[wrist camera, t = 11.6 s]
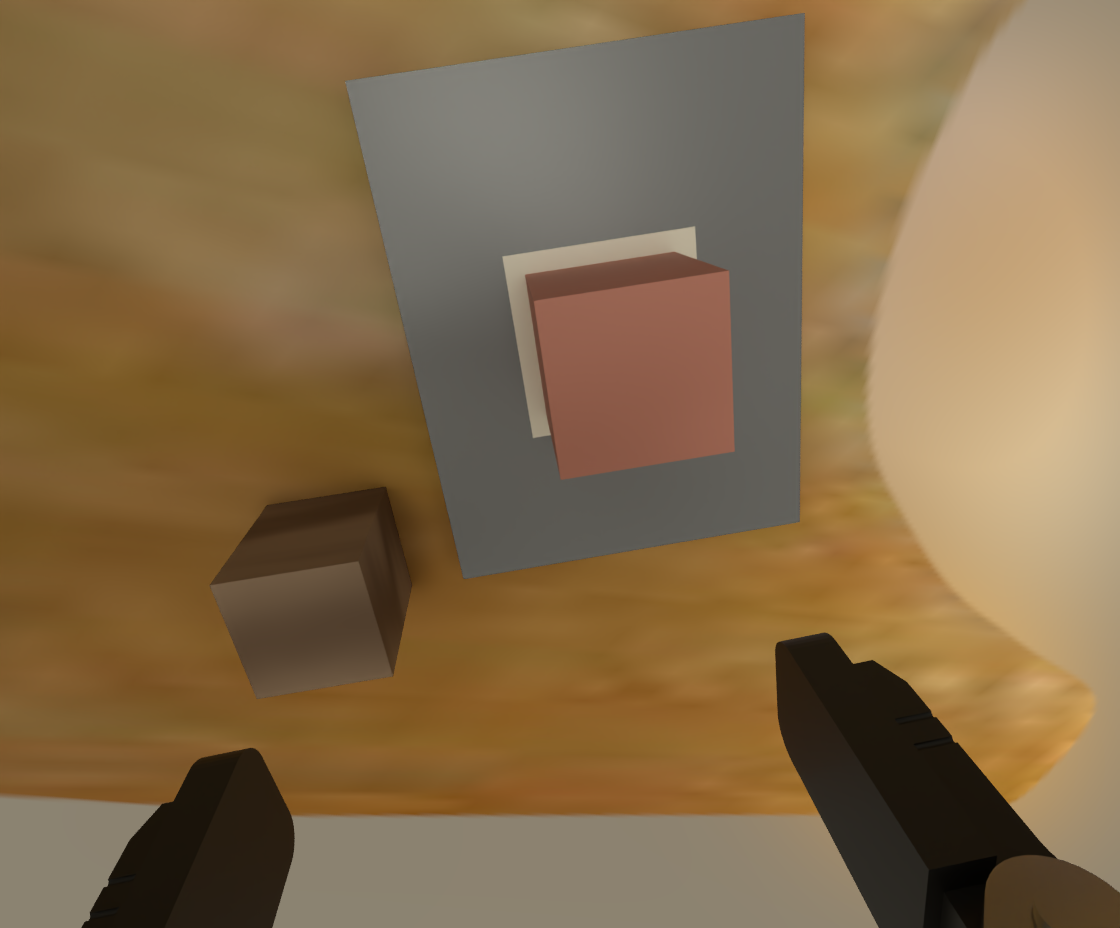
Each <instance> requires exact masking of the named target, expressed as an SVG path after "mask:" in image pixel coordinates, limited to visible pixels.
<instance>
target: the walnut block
mask: <svg viewBox="0 0 1120 928" xmlns="http://www.w3.org/2000/svg"><path fill="white" fill-rule="evenodd" d="M411 587H412V584H411V580H410V576H409V573H408V569H407V565H406V561H405V557H404V554H403V550H402V546H401V542H400V539H399V535H398V531H397V527H396V524H395V520H394V516H393V512H392V509H391V505H390V501H389V497H388V493H387V490H386V487H381V488H374V489H368V490H362V491H355V492H349V493H342V494H336V495H330V496H323V497H317V498H311V499H304V500H298V501H291V502H285V503H279V504H272V505H267V506H266V507H265V509H264V510H263V512H262V513H261V514H260V516H259V517H258V519H257V520H256V521H255V523H254V524H253V526H252V527H251V528H250V530H249V531H248V533H247V534H246V535H245V537H244V538H243V540H242V541H241V542H240V544H239V545H238V546H237V548H236V549H235V551H234V552H233V553H232V555H231V556H230V558H229V559H228V560H227V562H226V563H225V565H224V566H223V567H222V569H221V570H220V572H219V573H218V574H217V576H216V577H215V579H214V580H213V581H212V583H211V584H210V588H211V590H212V592H213V595H214V597H215V600H216V602H217V604H218V607H219V609H220V612H221V614H222V616H223V619H224V621H225V623H226V626H227V628H228V631H229V633H230V635H231V638H232V640H233V643H234V645H235V647H236V650H237V652H238V655H239V657H240V659H241V662H242V664H243V667H244V669H245V671H246V674H247V676H248V679H249V681H250V683H251V686H252V688H253V691H254V693H255V695H256V698H257V699H260V698H266V697H272V696H278V695H284V694H290V693H296V692H302V691H308V690H314V689H320V688H326V687H332V686H338V685H343V684H349V683H355V682H361V681H367V680H373V679H379V678H385V677H391V676H393V674H394V669H395V664H396V659H397V655H398V650H399V645H400V640H401V635H402V631H403V626H404V621H405V616H406V611H407V607H408V602H409V597H410V592H411Z"/></svg>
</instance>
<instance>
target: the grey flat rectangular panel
mask: <svg viewBox="0 0 1120 928" xmlns="http://www.w3.org/2000/svg"><path fill="white" fill-rule="evenodd" d="M804 21H805V13H801V14H795V15H788V16H781V17H774V18H768V19H761V20H754V21H747V22H741V23H734V24H727V25H720V26H714V27H707V28H700V29H693V30H686V31H680V32H673V33H666V34H659V35H653V36H646V37H639V38H632V39H626V40H619V41H612V42H605V43H599V44H592V45H585V46H578V47H572V48H565V49H558V50H551V51H545V52H538V53H531V54H524V55H518V56H511V57H504V58H497V59H490V60H484V61H477V62H470V63H463V64H457V65H450V66H443V67H436V68H430V69H423V70H416V71H409V72H403V73H396V74H389V75H382V76H376V77H369V78H362V79H355V80H349V81H345V82H346V86H347V91H348V95H349V99H350V103H351V107H352V112H353V116H354V120H355V124H356V128H357V133H358V137H359V141H360V145H361V149H362V154H363V158H364V162H365V166H366V170H367V175H368V179H369V183H370V187H371V191H372V196H373V200H374V204H375V208H376V213H377V217H378V221H379V225H380V229H381V234H382V238H383V242H384V246H385V250H386V255H387V259H388V263H389V267H390V271H391V276H392V280H393V284H394V288H395V292H396V297H397V301H398V305H399V309H400V313H401V318H402V322H403V326H404V330H405V334H406V339H407V343H408V347H409V351H410V355H411V360H412V364H413V368H414V372H415V376H416V381H417V385H418V389H419V393H420V397H421V402H422V406H423V410H424V414H425V418H426V423H427V427H428V431H429V435H430V439H431V444H432V448H433V452H434V456H435V461H436V465H437V469H438V473H439V477H440V482H441V486H442V490H443V494H444V498H445V503H446V507H447V511H448V515H449V519H450V524H451V528H452V532H453V536H454V540H455V545H456V549H457V553H458V557H459V561H460V566H461V570H462V574H463V578H464V579H468V578H473V577H479V576H485V575H491V574H497V573H503V572H509V571H514V570H520V569H526V568H532V567H538V566H544V565H550V564H556V563H561V562H567V561H573V560H579V559H585V558H591V557H597V556H603V555H608V554H614V553H620V552H626V551H632V550H638V549H644V548H649V547H655V546H661V545H667V544H673V543H679V542H685V541H691V540H696V539H702V538H708V537H714V536H720V535H726V534H732V533H738V532H743V531H749V530H755V529H761V528H767V527H773V526H779V525H784V524H790V523H796V522H800V423H801V323H802V222H803V121H804ZM669 252H677V253H680V254H683V255H686V256H689V257H691V258H694V259H697V260H700V261H703V262H706V263H709V264H712V265H714V266H717V267H720V268H723V269H726V270H729V284H730V316H731V349H732V382H733V414H734V447H735V452H729V453H723V454H716V455H710V456H704V457H698V458H692V459H686V460H680V461H674V462H667V463H661V464H655V465H649V466H643V467H637V468H631V469H625V470H618V471H612V472H606V473H600V474H594V475H588V476H582V477H576V478H570V479H563V480H561V479H560V474H559V470H558V465H557V461H556V456H555V452H554V447H553V443H552V438H551V434H550V429H549V425H548V420H547V415H546V409H545V402H544V396H543V389H542V383H541V376H540V370H539V363H538V357H537V350H536V344H535V337H534V331H533V324H532V318H531V311H530V305H529V298H528V292H527V285H526V279H525V275H526V274H532V273H539V272H545V271H552V270H558V269H565V268H571V267H578V266H584V265H591V264H597V263H604V262H610V261H617V260H623V259H630V258H636V257H643V256H649V255H656V254H662V253H669Z"/></svg>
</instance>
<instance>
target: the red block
mask: <svg viewBox="0 0 1120 928" xmlns="http://www.w3.org/2000/svg"><path fill="white" fill-rule="evenodd" d="M525 279H526V285H527V292H528V298H529V305H530V311H531V318H532V324H533V331H534V337H535V344H536V350H537V357H538V363H539V370H540V376H541V383H542V389H543V396H544V402H545V409H546V415H547V420H548V425H549V429H550V434H551V438H552V443H553V447H554V452H555V456H556V461H557V465H558V470H559V474H560V479H561V480H563V479H570V478H576V477H582V476H588V475H594V474H600V473H606V472H612V471H618V470H625V469H631V468H637V467H643V466H649V465H655V464H661V463H667V462H674V461H680V460H686V459H692V458H698V457H704V456H710V455H716V454H723V453H729V452H735V447H734V414H733V382H732V349H731V316H730V284H729V270H726V269H723V268H720V267H717V266H714V265H712V264H709V263H706V262H703V261H700V260H697V259H694V258H691V257H689V256H686V255H683V254H680V253H677V252H669V253H662V254H656V255H649V256H643V257H636V258H630V259H623V260H617V261H610V262H604V263H597V264H591V265H584V266H578V267H571V268H565V269H558V270H552V271H545V272H539V273H532V274H526V275H525Z"/></svg>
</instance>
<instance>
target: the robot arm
mask: <svg viewBox="0 0 1120 928" xmlns="http://www.w3.org/2000/svg"><path fill="white" fill-rule="evenodd" d="M775 658H776V682H777V706H778V720H779V725H780V730H781V734H782V737H783V740H784V743H785V746H786V749H787V751H788V754H789V756H790V758H791V760H792V762H793V764H794V766H795V768H796V770H797V772H798V774H799V776H800V777H801V779H802V781H803V783H804V785H805V787H806V789H807V791H808V793H809V795H810V797H811V799H812V800H813V802H814V804H815V806H816V808H817V810H818V812H819V814H820V816H821V818H822V820H823V822H824V823H825V825H826V827H827V829H828V831H829V833H830V835H831V837H832V839H833V841H834V843H835V845H836V846H837V848H838V850H839V852H840V854H841V856H842V858H843V860H844V862H845V864H846V866H847V868H848V869H849V871H850V873H851V875H852V877H853V879H854V881H855V883H856V885H857V887H858V889H859V891H860V892H861V894H862V896H863V898H864V900H865V902H866V904H867V906H868V908H869V910H870V911H871V914H872V916H873V917H874V919H875V921H876V923H877V925H878V927H879V928H1120V893H1119V892H1118V891H1117V890H1115V889H1114V888H1113V887H1112V886H1110V885H1109V884H1108V883H1107V882H1105V881H1103V880H1102V879H1100V878H1099V877H1097V876H1096V875H1094V874H1092V873H1090V872H1089V871H1087V870H1085V869H1083V868H1081V867H1079V866H1076V865H1074V864H1071V863H1069V862H1066V861H1063V860H1059V859H1057V858H1056V857H1055V856H1054V855H1053V854H1052V853H1050V852H1049V851H1048V849H1047V848H1046V847H1045V846H1044V845H1043V844H1042V843H1041V842H1040V841H1039V840H1038V838H1037V837H1036V836H1035V835H1034V834H1033V832H1032V831H1031V830H1030V829H1029V828H1028V826H1027V825H1026V824H1025V823H1024V822H1023V820H1022V819H1021V818H1020V817H1019V816H1018V815H1017V813H1016V812H1015V811H1014V810H1013V809H1012V807H1011V806H1010V805H1009V804H1008V803H1007V801H1006V800H1005V799H1004V798H1003V797H1002V795H1001V794H1000V793H999V792H998V791H997V789H996V788H995V787H994V786H993V785H992V783H991V782H990V781H989V780H988V779H987V777H986V776H985V775H984V774H983V773H982V771H981V770H980V769H979V768H978V767H977V765H976V764H975V763H974V762H973V761H972V759H971V758H970V757H969V756H968V755H967V753H966V752H965V751H964V750H963V749H962V747H961V746H960V745H959V744H958V743H955V742H954V741H953V739H952V735H951V734H950V733H949V732H948V731H947V729H946V728H945V727H944V726H943V725H942V723H941V722H940V721H939V720H938V719H937V717H933V716H932V713H931V710H930V709H929V708H928V707H927V706H926V704H925V703H924V702H923V701H922V700H921V698H920V697H919V696H918V695H917V694H916V692H915V691H914V690H913V689H912V688H911V686H910V685H909V684H908V683H907V682H906V681H905V680H903V679H901V678H900V677H898V676H897V675H895V674H894V673H892V672H890V671H889V670H887V669H886V668H884V667H883V666H881V665H880V664H878V663H876V662H875V661H873V660H871V661H866V662H861V663H856V664H853V663H852V662H851V661H850V659H849V658H848V657H847V655H846V654H845V653H844V651H843V650H842V649H841V647H840V646H839V645H838V643H837V642H836V641H835V640H834V638H833V637H832V636H831V635H830V634H828V633H820V634H815V635H810V636H805V637H801V638H796V639H791V640H786V641H781V642H778V643H777V644H776V649H775ZM294 839H295V838H294V826H293V820H292V817H291V814H290V812H289V810H288V808H287V806H286V804H285V802H284V800H283V798H282V796H281V794H280V792H279V790H278V788H277V786H276V784H275V782H274V780H273V778H272V776H271V774H270V772H269V770H268V768H267V766H266V764H265V762H264V760H263V758H262V756H261V754H260V753H259V752H258V751H257V750H256V749H254V748H248V749H243V750H238V751H233V752H228V753H223V754H218V755H214V756H209V757H204V758H201V759H199V760H197V761H196V762H195V763H194V764H193V765H192V767H191V769H190V770H189V772H188V774H187V776H186V778H185V780H184V782H183V784H182V786H181V788H180V790H179V792H178V794H177V796H176V798H175V799H174V801H173V802H169V803H165V804H162V805H161V806H160V807H159V808H158V809H157V811H155V813H154V814H153V815H152V816H151V817H150V818H149V819H148V821H146V823H145V824H144V825H143V826H142V827H141V828H140V829H139V830H138V832H137V833H136V834H135V835H134V836H133V837H132V838H131V839H130V841H129V842H128V844H127V846H126V848H125V850H124V851H123V853H122V855H121V857H120V859H119V861H118V862H117V864H116V866H115V868H114V870H113V871H112V873H111V875H110V877H109V879H108V881H109V884H108V886H107V887H104V888H103V890H102V891H101V893H100V895H99V897H98V899H97V900H96V902H95V904H94V906H93V908H92V910H91V912H90V919H89V921H86V922H84V924H83V926H82V928H272V927H273V923H274V920H275V916H276V913H277V910H278V906H279V903H280V899H281V896H282V892H283V889H284V886H285V882H286V879H287V876H288V872H289V869H290V865H291V862H292V858H293V852H294Z"/></svg>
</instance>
